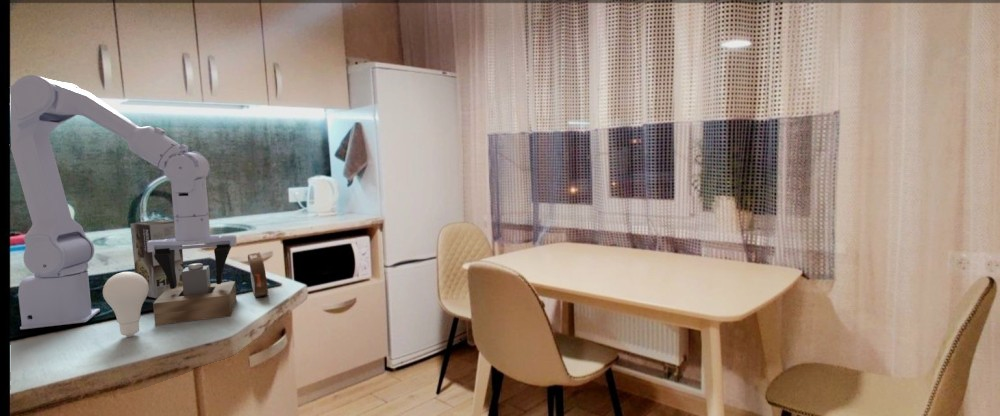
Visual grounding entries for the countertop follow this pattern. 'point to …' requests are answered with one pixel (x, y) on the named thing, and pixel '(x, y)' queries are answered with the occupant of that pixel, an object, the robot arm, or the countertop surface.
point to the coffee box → (146, 260)
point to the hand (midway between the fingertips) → (196, 285)
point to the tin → (258, 275)
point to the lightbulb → (126, 299)
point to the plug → (196, 280)
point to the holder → (195, 304)
